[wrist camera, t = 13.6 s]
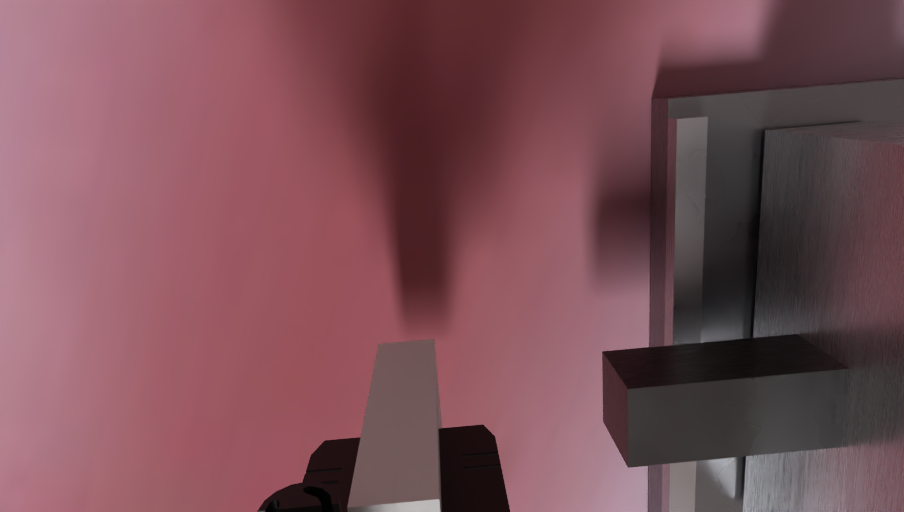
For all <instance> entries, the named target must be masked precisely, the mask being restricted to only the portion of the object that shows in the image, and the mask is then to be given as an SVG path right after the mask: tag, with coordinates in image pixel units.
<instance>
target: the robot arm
mask: <svg viewBox="0 0 904 512" xmlns="http://www.w3.org/2000/svg"><path fill="white" fill-rule="evenodd" d="M257 512H510V509H509V504H508V499H507V494H506V489H505V484H504V479H503V474H502V469H501V464H500V459H499V455H498V449H497V444H496V439H495V436H494V435H493V434H492V433H491V432H490V431H489V430H488V429H487V428H486V427H485V426H484V425H474V426H463V427H452V428H442V420H441V409H440V398H439V387H438V376H437V365H436V354H435V343H434V339H429V340H417V341H406V342H394V343H383V344H378V349H377V354H376V359H375V364H374V370H373V375H372V380H371V385H370V391H369V396H368V401H367V406H366V412H365V417H364V422H363V427H362V433H361V437H360V438H349V439H337V440H326V441H324V442H323V443H322V444H321V445H320V446H319V447H318V448H317V450H316V451H315V452H314V453H313V454H312V455H311V457H310V460H309V464H308V467H307V470H306V474H305V476H304V479H303V482H302V483H298V484H293V485H290V486H288V487H285V488H283V489H281V490H279V491H276V492H275V493H274V494H273V495H271V496H270V497H269V498H267V499H266V500H265V501H264V502H263V504H262V505H261V507H260V508H259V510H258V511H257Z"/></svg>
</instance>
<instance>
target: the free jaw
mask: <svg viewBox="0 0 904 512" xmlns="http://www.w3.org/2000/svg"><path fill="white" fill-rule="evenodd" d="M602 361H603V422H604V424H605V426H606V427H607V429H608V431H609V433H610V435H611V437H612V439H613V440H614V442H615V444H616V446H617V448H618V450H619V452H620V453H621V455H622V457H623V459H624V461H625V463H626V465H627V466H628V467H639V466H649V465H660V464H670V463H681V462H691V461H702V460H712V459H723V458H733V457H744V456H746V467H745V484H744V501H743V512H904V122H888V121H868V122H856V123H844V124H832V125H820V126H809V127H797V128H785V129H773V130H765V145H764V162H763V179H762V196H761V213H760V230H759V247H758V264H757V281H756V298H755V314H754V331H753V338H746V339H735V340H724V341H713V342H702V343H691V344H680V345H669V346H658V347H647V348H636V349H625V350H614V351H603V352H602Z"/></svg>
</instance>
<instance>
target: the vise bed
mask: <svg viewBox="0 0 904 512" xmlns="http://www.w3.org/2000/svg"><path fill="white" fill-rule="evenodd" d="M868 121H888V122H904V78H894V79H882V80H870V81H858V82H846V83H834V84H822V85H810V86H798V87H785V88H773V89H761V90H749V91H737V92H725V93H713V94H701V95H689V96H677V97H665V98H653V99H652V146H651V253H650V347H658V346H669V345H680V344H691V343H702V342H713V341H724V340H735V339H746V338H753V331H754V314H755V298H756V281H757V264H758V247H759V230H760V213H761V196H762V179H763V162H764V145H765V130H773V129H785V128H797V127H809V126H820V125H832V124H844V123H856V122H868ZM745 467H746V456H744V457H733V458H723V459H712V460H702V461H691V462H681V463H670V464H660V465H649V466H648V512H743V501H744V484H745Z"/></svg>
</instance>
